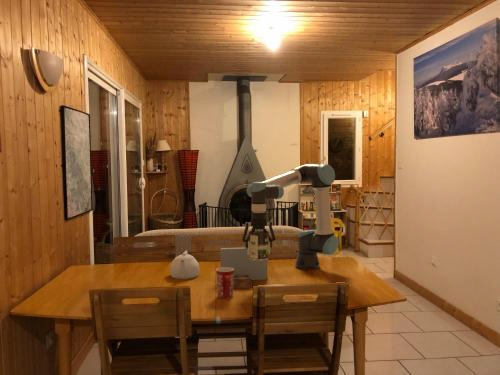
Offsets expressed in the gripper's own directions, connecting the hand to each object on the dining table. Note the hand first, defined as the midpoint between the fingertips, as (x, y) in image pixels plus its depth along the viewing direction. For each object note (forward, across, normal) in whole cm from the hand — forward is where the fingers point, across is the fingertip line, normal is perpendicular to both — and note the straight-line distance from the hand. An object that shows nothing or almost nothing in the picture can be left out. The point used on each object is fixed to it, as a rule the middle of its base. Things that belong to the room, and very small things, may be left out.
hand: (258, 254), depth 225 cm
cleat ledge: (+18, +10, -9) cm, 23 cm away
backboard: (+18, +5, -17) cm, 25 cm away
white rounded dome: (+18, +38, -32) cm, 52 cm away
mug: (+18, +19, +12) cm, 29 cm away
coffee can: (+2, 0, 0) cm, 2 cm away
